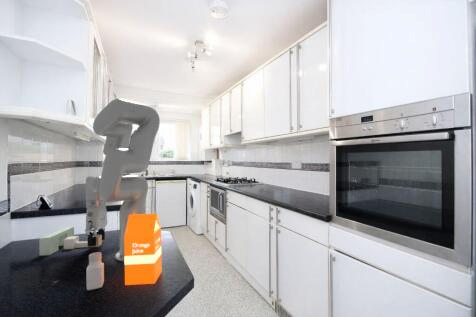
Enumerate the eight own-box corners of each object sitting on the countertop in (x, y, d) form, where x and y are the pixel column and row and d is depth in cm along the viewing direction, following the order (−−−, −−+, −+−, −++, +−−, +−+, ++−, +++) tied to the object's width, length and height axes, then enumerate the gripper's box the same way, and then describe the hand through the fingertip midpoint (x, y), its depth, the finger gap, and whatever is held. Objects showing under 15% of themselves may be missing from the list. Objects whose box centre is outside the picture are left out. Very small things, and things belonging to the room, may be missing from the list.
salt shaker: (86, 291, 65) (85, 257, 65) (88, 284, 68) (88, 252, 69) (102, 288, 66) (101, 255, 67) (104, 281, 70) (103, 250, 70)
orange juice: (134, 272, 75) (133, 212, 76) (162, 271, 76) (160, 210, 76) (124, 285, 68) (123, 217, 68) (154, 283, 68) (153, 216, 69)
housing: (74, 241, 109) (73, 226, 109) (50, 254, 93) (50, 237, 93) (65, 242, 108) (64, 227, 109) (39, 255, 93) (39, 238, 93)
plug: (102, 243, 105) (102, 234, 105) (98, 247, 101) (97, 237, 101) (69, 245, 103) (69, 236, 103) (63, 249, 99) (63, 239, 99)
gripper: (94, 206, 95) (95, 249, 94) (113, 199, 112) (113, 236, 111) (75, 207, 94) (76, 250, 93) (97, 200, 111) (97, 237, 111)
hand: (96, 242), depth 102 cm, fingers open, 7 cm apart
